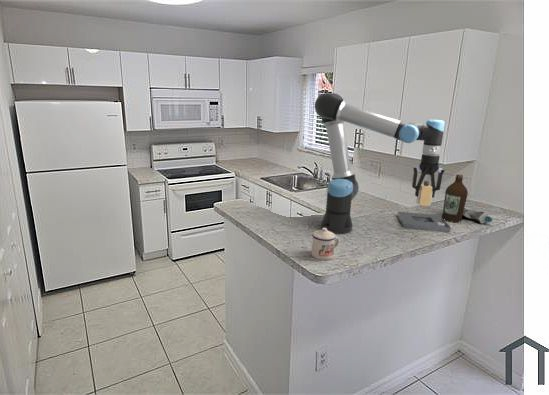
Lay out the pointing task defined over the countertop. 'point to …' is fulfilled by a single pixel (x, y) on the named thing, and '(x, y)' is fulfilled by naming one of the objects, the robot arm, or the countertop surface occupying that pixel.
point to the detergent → (477, 215)
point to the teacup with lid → (323, 244)
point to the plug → (425, 194)
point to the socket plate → (433, 221)
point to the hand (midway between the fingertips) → (423, 203)
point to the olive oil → (455, 200)
